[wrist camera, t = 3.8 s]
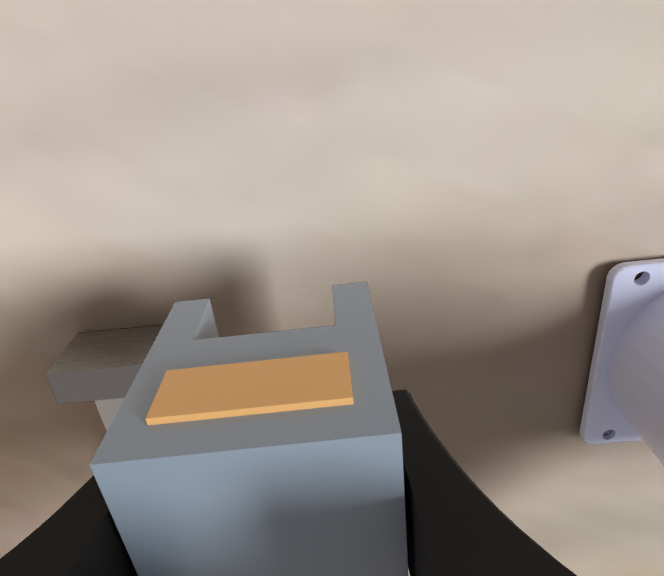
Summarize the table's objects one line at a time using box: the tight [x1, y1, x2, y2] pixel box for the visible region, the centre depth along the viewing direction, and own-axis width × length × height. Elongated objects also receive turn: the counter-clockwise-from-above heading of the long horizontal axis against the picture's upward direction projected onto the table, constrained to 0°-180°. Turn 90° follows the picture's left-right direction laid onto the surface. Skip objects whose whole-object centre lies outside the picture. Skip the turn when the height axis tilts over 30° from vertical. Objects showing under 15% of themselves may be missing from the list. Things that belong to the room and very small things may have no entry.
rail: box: [45, 325, 163, 431], centre depth 22 cm, size 3×22×2 cm, turn 6°
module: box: [89, 282, 408, 576], centre depth 12 cm, size 5×6×6 cm
